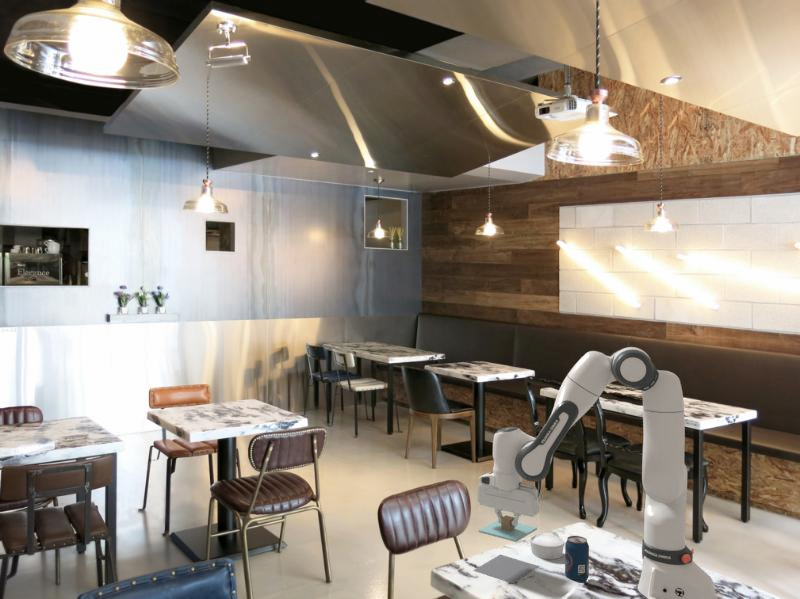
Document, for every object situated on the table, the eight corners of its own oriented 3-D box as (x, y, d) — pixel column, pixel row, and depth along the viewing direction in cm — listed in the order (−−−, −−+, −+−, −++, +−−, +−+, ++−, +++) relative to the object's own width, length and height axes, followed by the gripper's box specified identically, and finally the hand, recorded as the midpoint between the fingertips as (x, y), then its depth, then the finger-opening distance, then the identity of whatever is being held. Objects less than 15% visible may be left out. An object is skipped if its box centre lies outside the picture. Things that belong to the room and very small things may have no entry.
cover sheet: (536, 529, 200) (536, 516, 200) (516, 542, 190) (515, 528, 190) (500, 520, 209) (500, 508, 209) (478, 532, 199) (478, 518, 199)
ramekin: (529, 547, 219) (529, 532, 218) (563, 550, 216) (563, 534, 216) (529, 561, 208) (529, 544, 208) (565, 564, 205) (565, 547, 205)
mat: (539, 568, 202) (539, 566, 202) (513, 586, 189) (513, 583, 189) (500, 556, 211) (500, 554, 211) (473, 572, 198) (473, 570, 198)
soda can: (561, 574, 198) (561, 535, 198) (583, 573, 199) (583, 534, 198) (570, 584, 191) (570, 544, 191) (592, 583, 192) (592, 543, 192)
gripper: (542, 483, 195) (543, 529, 195) (485, 472, 208) (485, 515, 208) (532, 488, 191) (533, 535, 191) (474, 476, 204) (474, 520, 204)
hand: (507, 524), depth 200 cm, fingers closed on cover sheet, 3 cm apart
